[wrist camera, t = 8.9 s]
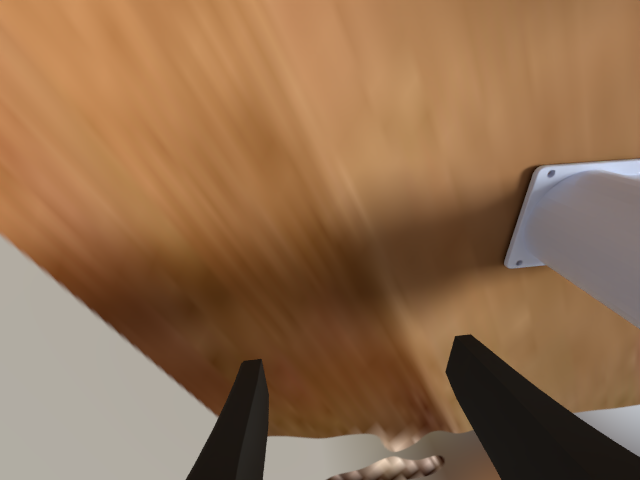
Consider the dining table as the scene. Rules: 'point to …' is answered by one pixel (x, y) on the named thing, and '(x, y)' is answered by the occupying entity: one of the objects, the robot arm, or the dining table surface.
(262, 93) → the dining table surface
